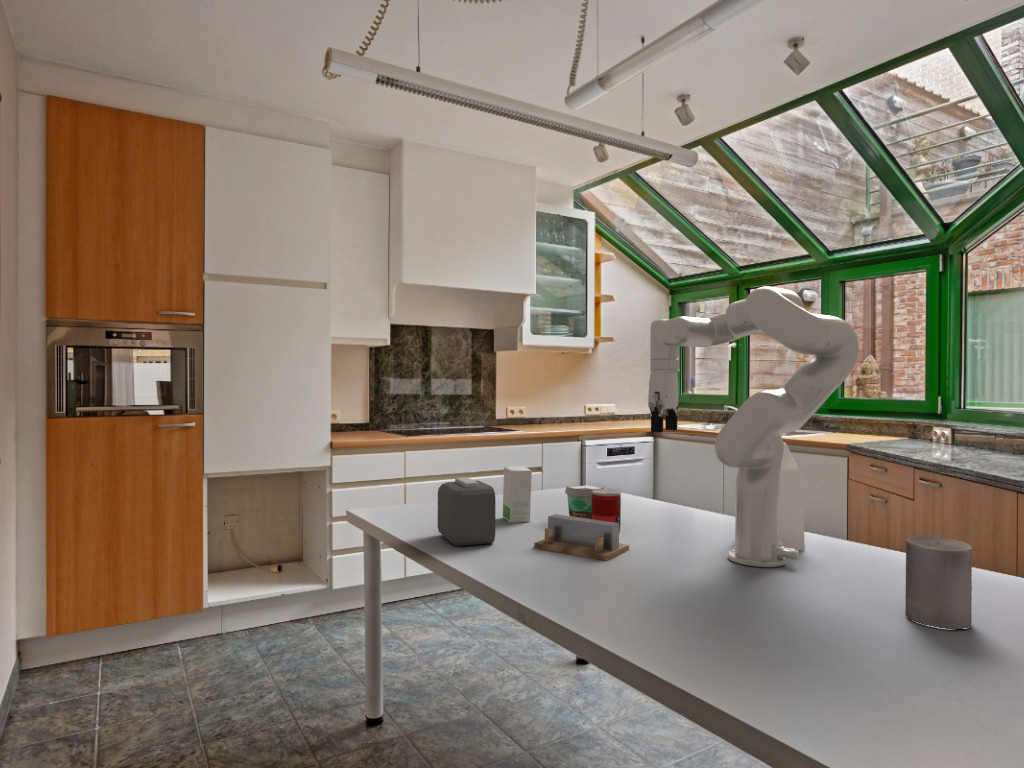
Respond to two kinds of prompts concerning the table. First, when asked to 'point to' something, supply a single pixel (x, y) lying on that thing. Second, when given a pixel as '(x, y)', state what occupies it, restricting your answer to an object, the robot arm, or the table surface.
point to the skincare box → (517, 494)
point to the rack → (579, 547)
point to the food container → (580, 502)
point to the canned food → (606, 505)
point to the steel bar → (584, 531)
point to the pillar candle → (938, 582)
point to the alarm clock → (466, 512)
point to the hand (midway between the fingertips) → (664, 431)
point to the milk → (791, 503)
